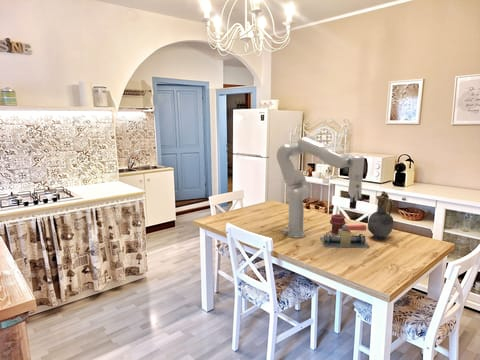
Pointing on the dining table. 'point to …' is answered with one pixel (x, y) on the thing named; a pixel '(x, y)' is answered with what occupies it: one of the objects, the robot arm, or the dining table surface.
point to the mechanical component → (337, 222)
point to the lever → (353, 227)
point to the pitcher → (381, 218)
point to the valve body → (344, 240)
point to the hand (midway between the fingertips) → (352, 208)
